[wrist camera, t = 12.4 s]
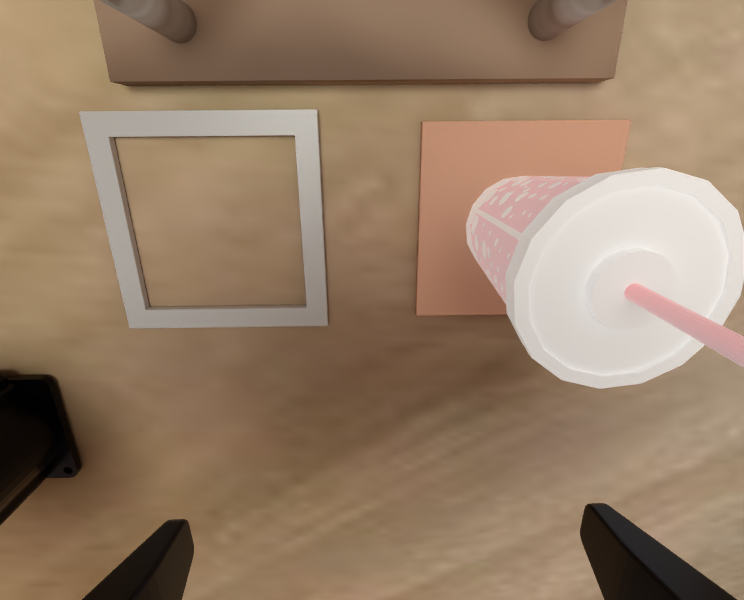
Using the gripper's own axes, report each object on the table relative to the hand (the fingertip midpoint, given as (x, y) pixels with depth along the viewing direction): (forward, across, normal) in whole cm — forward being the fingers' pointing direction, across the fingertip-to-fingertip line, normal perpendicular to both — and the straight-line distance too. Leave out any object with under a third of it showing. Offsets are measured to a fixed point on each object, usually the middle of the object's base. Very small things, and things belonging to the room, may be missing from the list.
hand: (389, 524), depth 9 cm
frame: (+13, +7, -5) cm, 15 cm away
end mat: (+12, -7, -4) cm, 15 cm away
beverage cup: (+12, -7, -4) cm, 15 cm away
